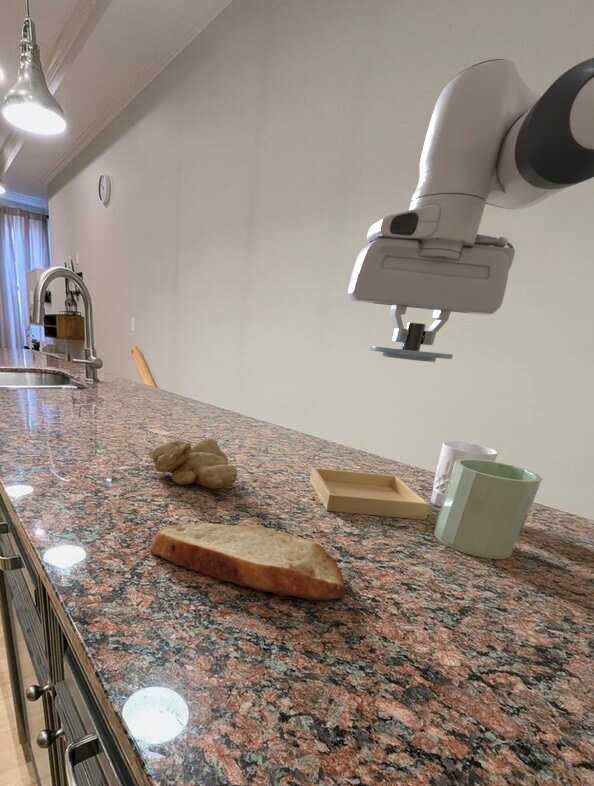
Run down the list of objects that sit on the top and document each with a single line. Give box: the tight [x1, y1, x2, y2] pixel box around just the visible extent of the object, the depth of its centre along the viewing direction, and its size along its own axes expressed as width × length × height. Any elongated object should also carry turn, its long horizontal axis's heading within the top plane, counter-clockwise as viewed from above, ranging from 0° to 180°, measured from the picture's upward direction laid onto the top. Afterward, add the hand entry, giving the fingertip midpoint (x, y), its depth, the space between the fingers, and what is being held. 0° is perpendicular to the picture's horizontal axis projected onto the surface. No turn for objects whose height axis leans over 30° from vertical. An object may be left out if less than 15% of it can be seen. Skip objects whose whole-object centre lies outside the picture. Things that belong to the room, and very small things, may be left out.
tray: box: [309, 467, 431, 521], centre depth 74 cm, size 15×14×3 cm
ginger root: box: [148, 438, 238, 490], centre depth 75 cm, size 16×16×8 cm
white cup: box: [430, 441, 499, 508], centre depth 73 cm, size 8×8×10 cm
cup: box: [433, 459, 543, 560], centre depth 59 cm, size 10×10×10 cm
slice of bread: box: [149, 522, 347, 601], centre depth 48 cm, size 18×18×4 cm
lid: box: [368, 322, 454, 363], centre depth 63 cm, size 11×11×5 cm
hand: (411, 343), depth 63 cm, fingers closed on lid, 2 cm apart
